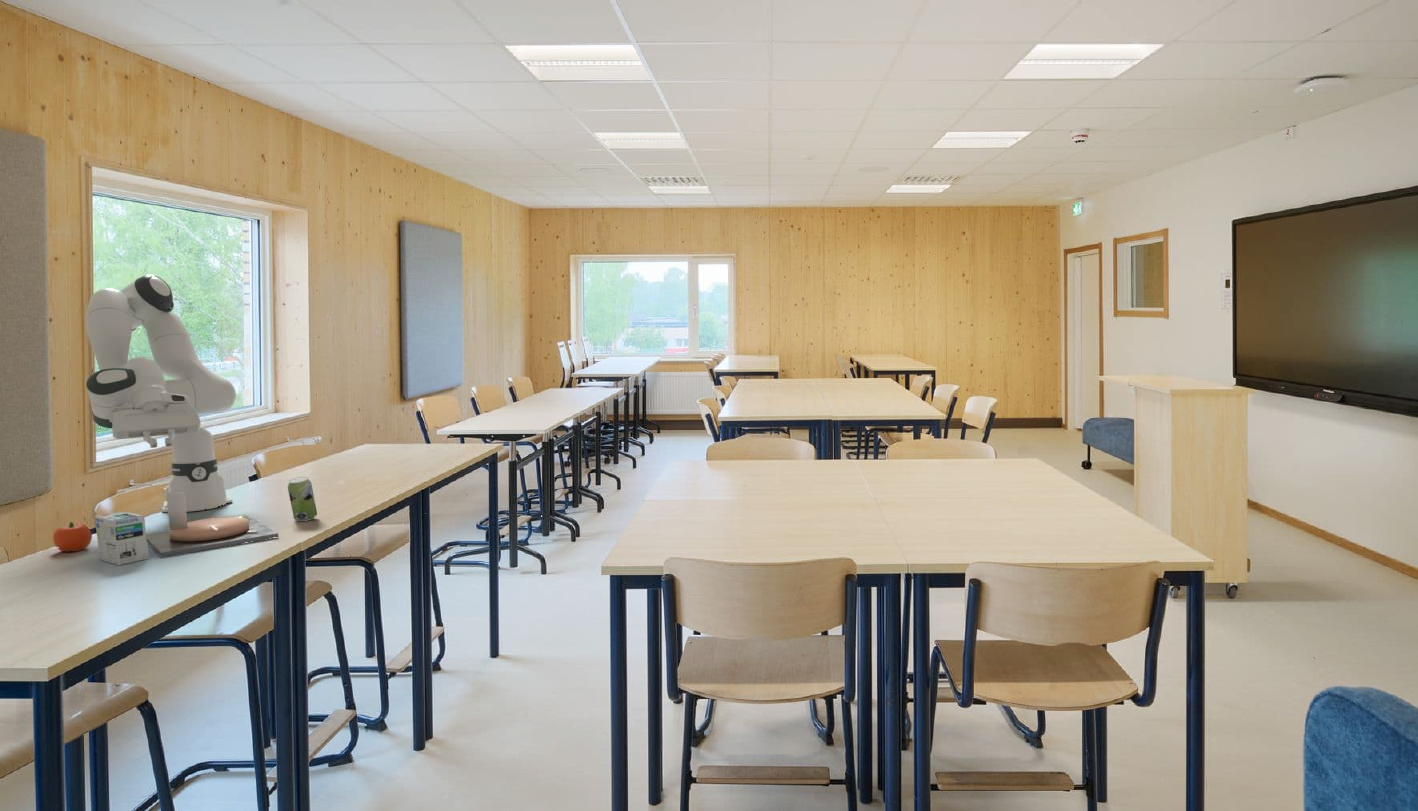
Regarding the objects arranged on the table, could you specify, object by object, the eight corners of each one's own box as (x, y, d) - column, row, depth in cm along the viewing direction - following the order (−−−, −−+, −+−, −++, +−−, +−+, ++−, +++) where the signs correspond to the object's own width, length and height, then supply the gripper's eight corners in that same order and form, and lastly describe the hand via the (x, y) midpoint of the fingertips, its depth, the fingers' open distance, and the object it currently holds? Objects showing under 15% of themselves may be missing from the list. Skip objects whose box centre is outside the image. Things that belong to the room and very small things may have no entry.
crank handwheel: (163, 532, 233) (159, 491, 232) (240, 521, 245) (236, 481, 243) (176, 545, 219) (172, 500, 218) (257, 532, 231) (253, 490, 230)
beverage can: (321, 517, 254) (318, 475, 253) (307, 523, 246) (304, 480, 245) (300, 517, 254) (297, 475, 253) (285, 523, 247) (282, 480, 246)
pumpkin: (99, 548, 225) (96, 519, 224) (63, 556, 218) (60, 526, 217) (84, 545, 229) (81, 516, 228) (48, 552, 222) (45, 523, 221)
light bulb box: (149, 559, 213) (145, 514, 212) (118, 566, 207) (113, 520, 206) (128, 553, 219) (124, 509, 218) (97, 560, 213) (93, 515, 212)
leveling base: (143, 538, 234) (142, 528, 234) (252, 521, 250) (252, 512, 250) (161, 557, 214) (160, 546, 214) (278, 537, 230) (277, 527, 230)
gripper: (106, 402, 236) (115, 442, 230) (195, 395, 249) (205, 433, 242) (106, 417, 240) (114, 457, 233) (193, 410, 253) (203, 448, 246)
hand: (161, 445), depth 238 cm, fingers open, 2 cm apart
